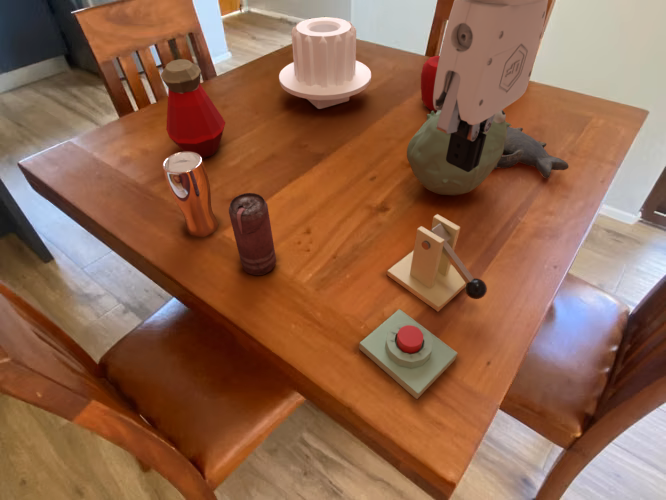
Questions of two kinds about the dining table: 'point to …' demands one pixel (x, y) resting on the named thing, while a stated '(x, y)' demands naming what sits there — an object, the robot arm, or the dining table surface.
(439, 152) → the green rock
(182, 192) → the beer glass
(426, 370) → the grey button base
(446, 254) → the switch lever
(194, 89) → the bottle
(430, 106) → the apple
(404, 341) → the console button
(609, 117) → the dining table surface
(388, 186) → the dining table surface
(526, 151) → the grey toy shark
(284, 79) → the ribbed cylinder on disc
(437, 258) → the switch bracket
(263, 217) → the can
